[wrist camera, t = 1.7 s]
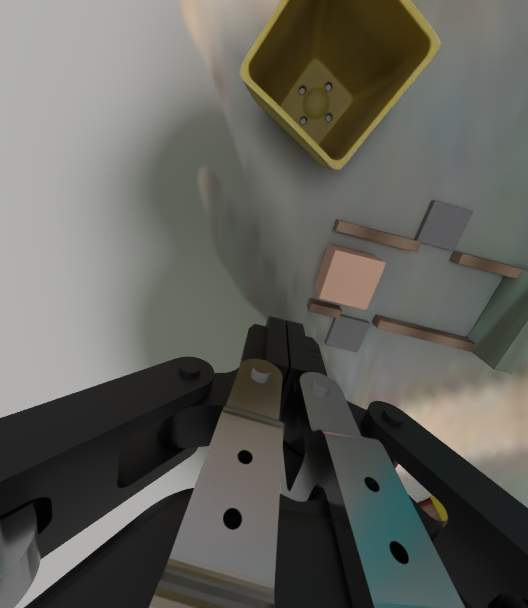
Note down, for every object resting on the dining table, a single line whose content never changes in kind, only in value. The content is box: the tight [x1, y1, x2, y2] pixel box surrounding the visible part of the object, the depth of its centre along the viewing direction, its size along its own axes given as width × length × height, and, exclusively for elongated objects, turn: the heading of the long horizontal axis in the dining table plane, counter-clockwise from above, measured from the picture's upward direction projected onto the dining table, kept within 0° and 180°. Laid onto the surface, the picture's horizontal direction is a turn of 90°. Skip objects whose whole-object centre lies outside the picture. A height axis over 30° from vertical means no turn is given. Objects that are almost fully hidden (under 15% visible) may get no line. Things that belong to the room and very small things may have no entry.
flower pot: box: [239, 0, 441, 170], centre depth 20 cm, size 9×9×9 cm
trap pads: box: [325, 201, 473, 352], centre depth 30 cm, size 5×20×1 cm, turn 147°
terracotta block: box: [314, 244, 386, 310], centre depth 28 cm, size 5×5×4 cm
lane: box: [308, 220, 528, 374], centre depth 28 cm, size 22×10×5 cm, turn 76°
